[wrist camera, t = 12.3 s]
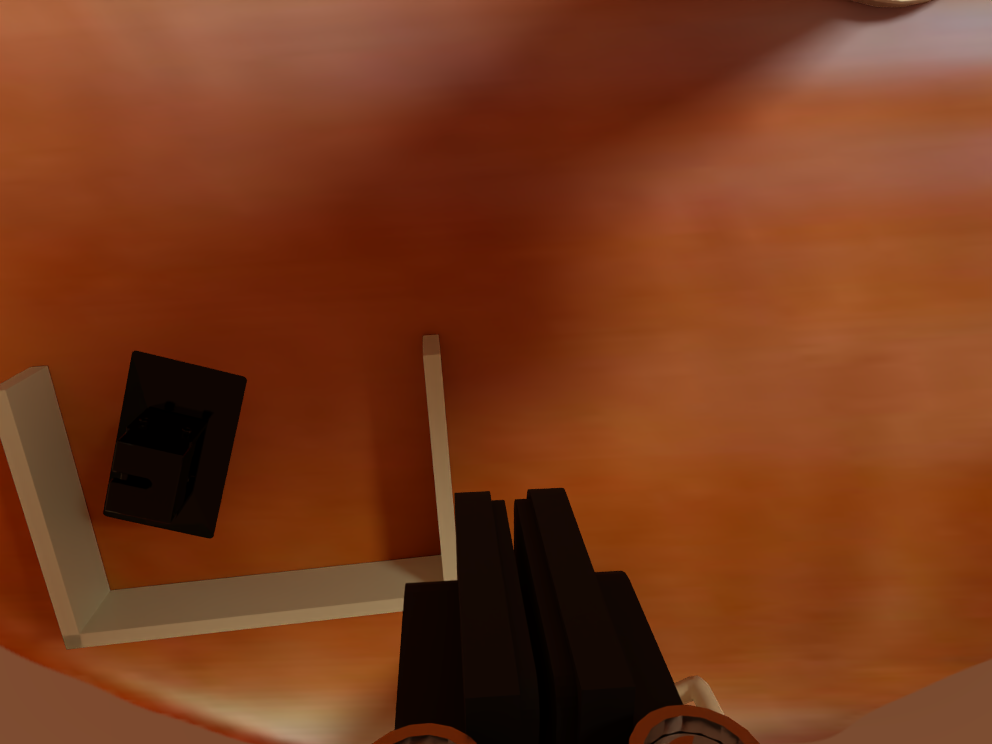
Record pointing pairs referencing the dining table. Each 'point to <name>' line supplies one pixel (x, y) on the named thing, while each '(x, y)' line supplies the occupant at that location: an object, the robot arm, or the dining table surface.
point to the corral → (199, 604)
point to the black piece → (173, 444)
